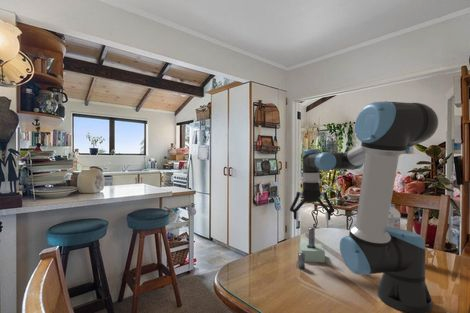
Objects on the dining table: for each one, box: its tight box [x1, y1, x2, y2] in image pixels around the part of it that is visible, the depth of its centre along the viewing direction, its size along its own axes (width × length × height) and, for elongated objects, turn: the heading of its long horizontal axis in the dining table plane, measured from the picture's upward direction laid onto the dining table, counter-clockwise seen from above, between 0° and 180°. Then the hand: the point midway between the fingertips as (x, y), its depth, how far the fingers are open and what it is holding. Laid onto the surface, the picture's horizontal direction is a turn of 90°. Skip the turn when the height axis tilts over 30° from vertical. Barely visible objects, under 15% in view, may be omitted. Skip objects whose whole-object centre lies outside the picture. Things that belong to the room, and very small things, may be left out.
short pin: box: [297, 252, 306, 270], centre depth 108 cm, size 3×3×6 cm
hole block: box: [299, 242, 326, 263], centre depth 119 cm, size 10×10×5 cm
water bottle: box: [387, 203, 402, 229], centre depth 120 cm, size 7×7×25 cm
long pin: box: [307, 226, 316, 249], centre depth 119 cm, size 3×3×14 cm
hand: (311, 226), depth 119 cm, fingers open, 13 cm apart
